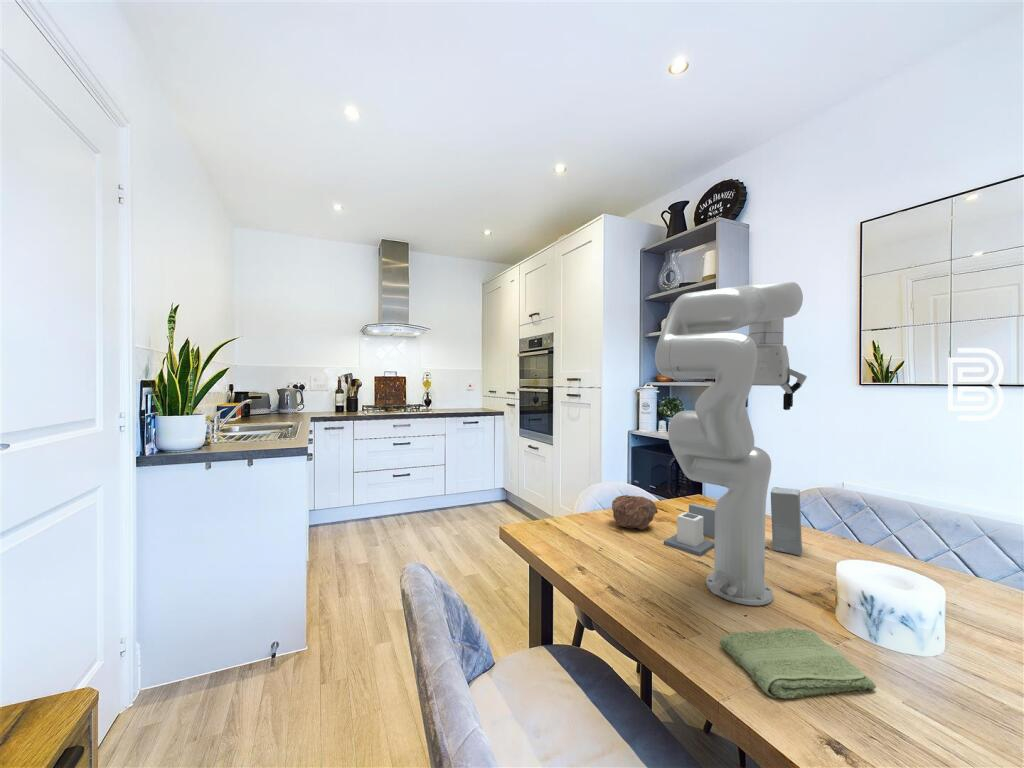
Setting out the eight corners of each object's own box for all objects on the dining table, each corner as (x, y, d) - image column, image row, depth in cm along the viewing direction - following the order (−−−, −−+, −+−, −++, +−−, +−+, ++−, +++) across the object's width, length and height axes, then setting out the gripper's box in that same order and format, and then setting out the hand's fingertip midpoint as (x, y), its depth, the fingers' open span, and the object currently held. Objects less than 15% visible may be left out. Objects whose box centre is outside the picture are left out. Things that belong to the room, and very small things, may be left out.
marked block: (695, 546, 109) (695, 519, 108) (676, 541, 112) (677, 515, 112) (703, 542, 112) (703, 515, 112) (685, 536, 116) (685, 511, 116)
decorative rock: (662, 528, 125) (662, 495, 125) (643, 537, 117) (644, 503, 117) (624, 517, 135) (624, 487, 135) (604, 525, 127) (605, 493, 127)
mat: (700, 556, 105) (700, 552, 105) (663, 544, 113) (663, 540, 113) (716, 545, 112) (716, 542, 112) (680, 535, 119) (680, 531, 119)
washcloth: (882, 696, 59) (882, 674, 59) (770, 706, 57) (771, 683, 57) (807, 639, 72) (807, 621, 72) (714, 645, 70) (714, 627, 70)
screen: (734, 544, 113) (735, 515, 113) (688, 531, 123) (688, 504, 122) (737, 542, 114) (738, 514, 114) (691, 529, 124) (691, 503, 124)
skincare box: (801, 557, 105) (802, 495, 105) (768, 549, 109) (769, 491, 109) (802, 546, 112) (803, 488, 112) (771, 540, 116) (772, 484, 116)
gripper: (723, 342, 107) (723, 407, 108) (802, 337, 95) (801, 411, 95) (734, 344, 112) (734, 406, 113) (810, 340, 100) (809, 410, 100)
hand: (764, 408), depth 104 cm, fingers open, 9 cm apart
